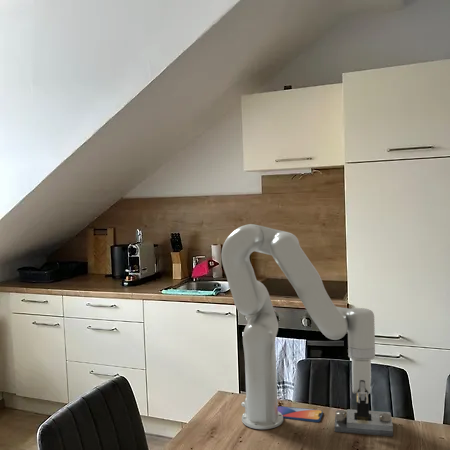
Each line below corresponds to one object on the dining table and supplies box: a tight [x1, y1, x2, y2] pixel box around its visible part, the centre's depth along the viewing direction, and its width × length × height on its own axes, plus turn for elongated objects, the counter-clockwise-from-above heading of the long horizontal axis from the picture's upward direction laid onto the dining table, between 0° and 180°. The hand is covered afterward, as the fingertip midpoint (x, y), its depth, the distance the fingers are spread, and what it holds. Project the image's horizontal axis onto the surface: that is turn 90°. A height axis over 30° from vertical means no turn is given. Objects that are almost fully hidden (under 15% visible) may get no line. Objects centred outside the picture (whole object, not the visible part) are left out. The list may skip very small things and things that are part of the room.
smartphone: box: [278, 405, 324, 423], centre depth 155 cm, size 7×15×1 cm, turn 70°
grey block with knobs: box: [334, 408, 394, 437], centre depth 145 cm, size 16×9×4 cm, turn 75°
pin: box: [356, 391, 369, 421], centre depth 145 cm, size 3×3×10 cm
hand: (362, 409), depth 145 cm, fingers open, 9 cm apart
